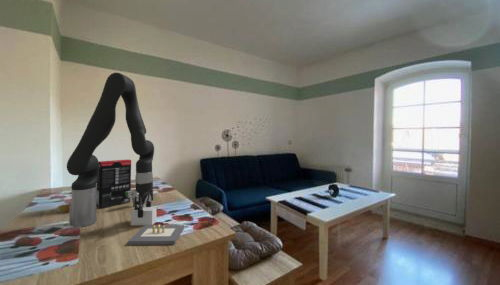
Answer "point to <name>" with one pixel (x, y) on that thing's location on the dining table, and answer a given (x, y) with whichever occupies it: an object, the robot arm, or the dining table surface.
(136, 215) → the plug housing
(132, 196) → the mechanical component
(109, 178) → the graphics card box
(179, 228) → the header board
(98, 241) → the dining table surface
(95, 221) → the robot arm
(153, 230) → the brass pins
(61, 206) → the sunglasses
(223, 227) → the dining table surface
